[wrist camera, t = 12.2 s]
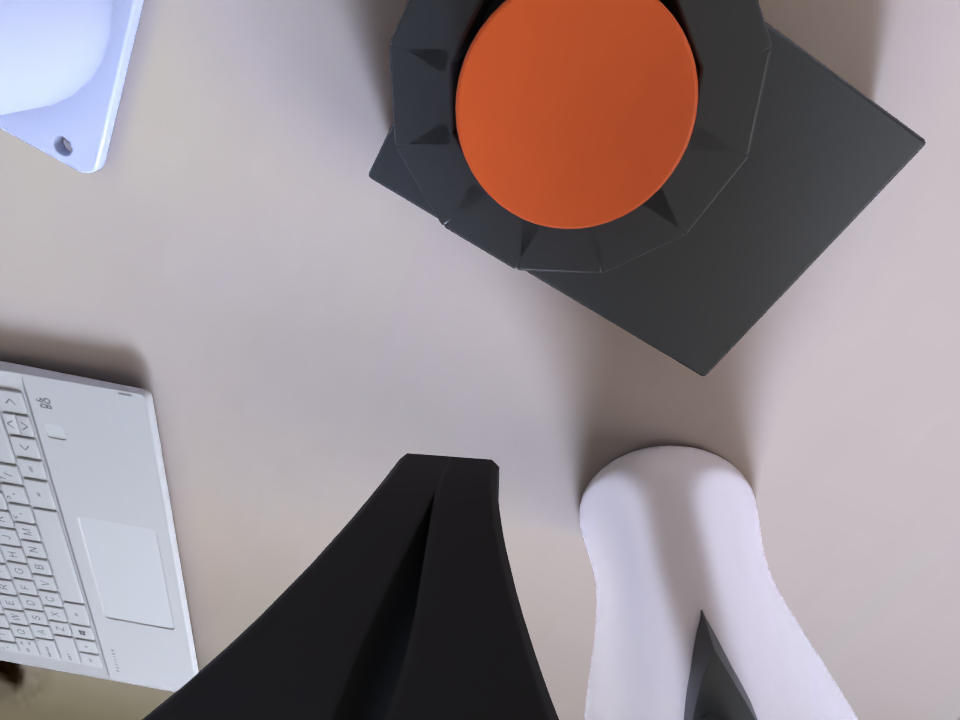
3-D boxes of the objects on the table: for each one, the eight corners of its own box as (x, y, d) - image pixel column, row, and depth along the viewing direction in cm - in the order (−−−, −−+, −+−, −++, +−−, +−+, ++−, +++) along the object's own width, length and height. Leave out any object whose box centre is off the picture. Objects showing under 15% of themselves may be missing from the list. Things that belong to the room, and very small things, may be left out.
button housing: (377, 144, 17) (324, 185, 13) (523, -165, 13) (511, -236, 9) (685, 332, 19) (720, 418, 15) (886, 104, 15) (1003, 138, 11)
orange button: (432, 134, 12) (414, 154, 11) (540, -74, 11) (537, -89, 9) (595, 236, 13) (601, 269, 12) (723, 57, 11) (753, 66, 10)
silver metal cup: (636, 400, 20) (791, 1132, 7) (811, 486, 21) (1234, 1268, 8) (532, 533, 23) (507, 1191, 10) (687, 601, 24) (842, 1281, 11)
